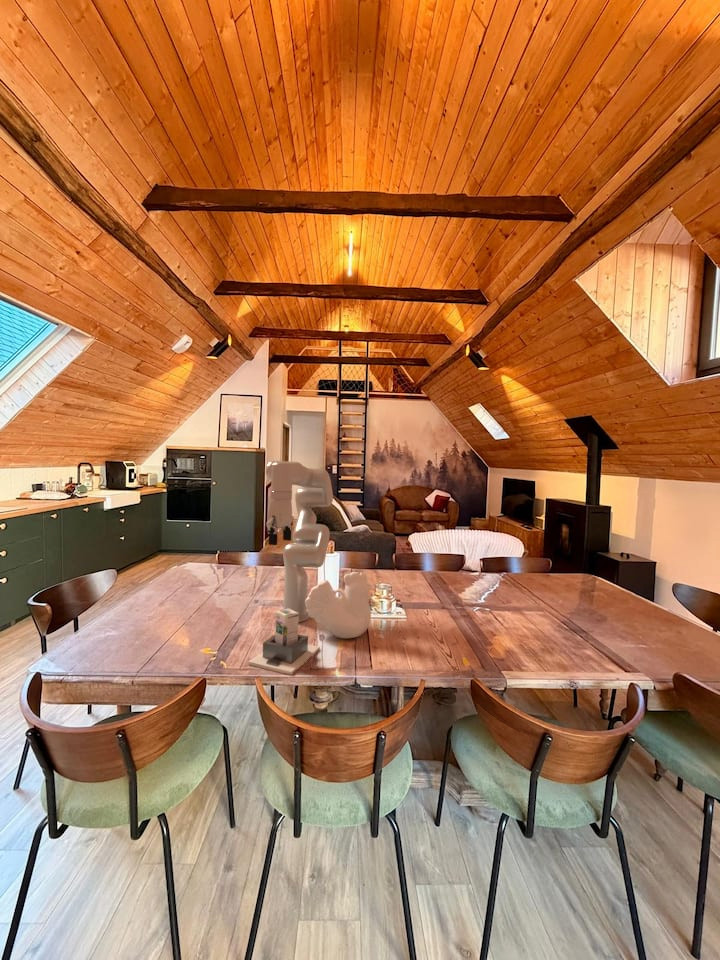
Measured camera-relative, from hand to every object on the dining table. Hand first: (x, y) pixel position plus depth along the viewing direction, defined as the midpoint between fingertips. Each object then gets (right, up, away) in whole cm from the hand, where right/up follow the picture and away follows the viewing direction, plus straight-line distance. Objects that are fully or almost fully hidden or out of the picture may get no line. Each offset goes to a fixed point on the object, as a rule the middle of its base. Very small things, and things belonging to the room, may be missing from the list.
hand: (280, 542), depth 161 cm
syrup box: (+4, -36, -11) cm, 38 cm away
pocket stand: (+4, -37, -12) cm, 39 cm away
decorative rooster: (+21, -37, +10) cm, 43 cm away
